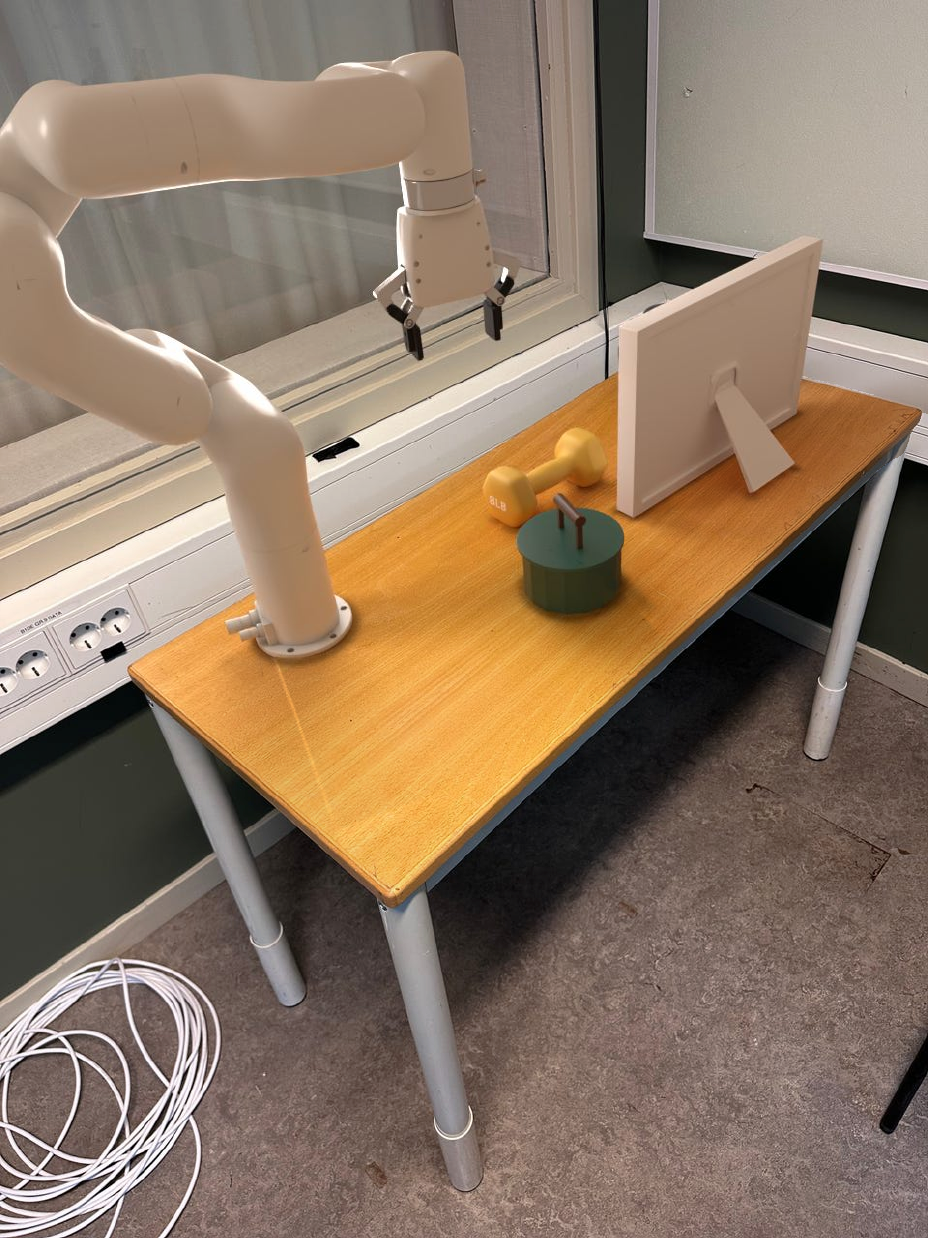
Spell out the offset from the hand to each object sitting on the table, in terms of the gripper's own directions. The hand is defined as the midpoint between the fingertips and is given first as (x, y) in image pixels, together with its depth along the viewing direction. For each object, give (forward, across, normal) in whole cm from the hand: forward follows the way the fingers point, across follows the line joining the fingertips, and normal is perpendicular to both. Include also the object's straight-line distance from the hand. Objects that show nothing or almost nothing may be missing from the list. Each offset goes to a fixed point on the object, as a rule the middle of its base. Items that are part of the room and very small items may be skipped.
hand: (455, 346), depth 105 cm
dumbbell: (+30, -14, -8) cm, 34 cm away
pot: (+30, -8, +13) cm, 34 cm away
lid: (+23, -8, +13) cm, 27 cm away
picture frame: (+30, -43, -1) cm, 52 cm away
